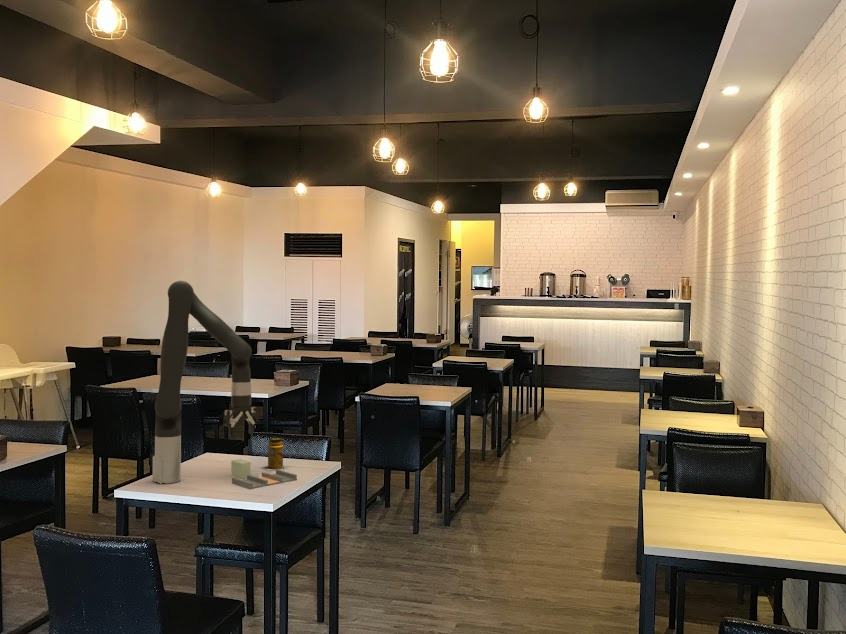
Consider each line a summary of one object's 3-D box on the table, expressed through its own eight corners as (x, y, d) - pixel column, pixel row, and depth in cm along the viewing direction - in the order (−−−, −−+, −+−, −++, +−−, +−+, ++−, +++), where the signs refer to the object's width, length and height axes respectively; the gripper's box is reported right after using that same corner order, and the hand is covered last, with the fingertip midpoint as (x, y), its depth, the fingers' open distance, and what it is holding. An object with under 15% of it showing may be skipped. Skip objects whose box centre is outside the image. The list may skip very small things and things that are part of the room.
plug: (241, 479, 293) (241, 463, 293) (231, 476, 298) (231, 460, 298) (250, 477, 296) (250, 462, 296) (240, 474, 301) (240, 459, 301)
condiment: (287, 468, 313) (287, 438, 313) (269, 471, 308) (269, 441, 307) (277, 465, 319) (277, 436, 318) (259, 468, 313) (259, 438, 312)
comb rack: (250, 489, 278) (250, 483, 278) (231, 483, 286) (231, 477, 286) (296, 479, 293) (296, 474, 293) (277, 474, 301) (278, 469, 301)
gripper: (251, 391, 304) (251, 432, 305) (219, 394, 294) (219, 436, 294) (262, 392, 299) (262, 434, 299) (230, 396, 289) (230, 439, 289)
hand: (241, 435), depth 297 cm, fingers open, 8 cm apart
